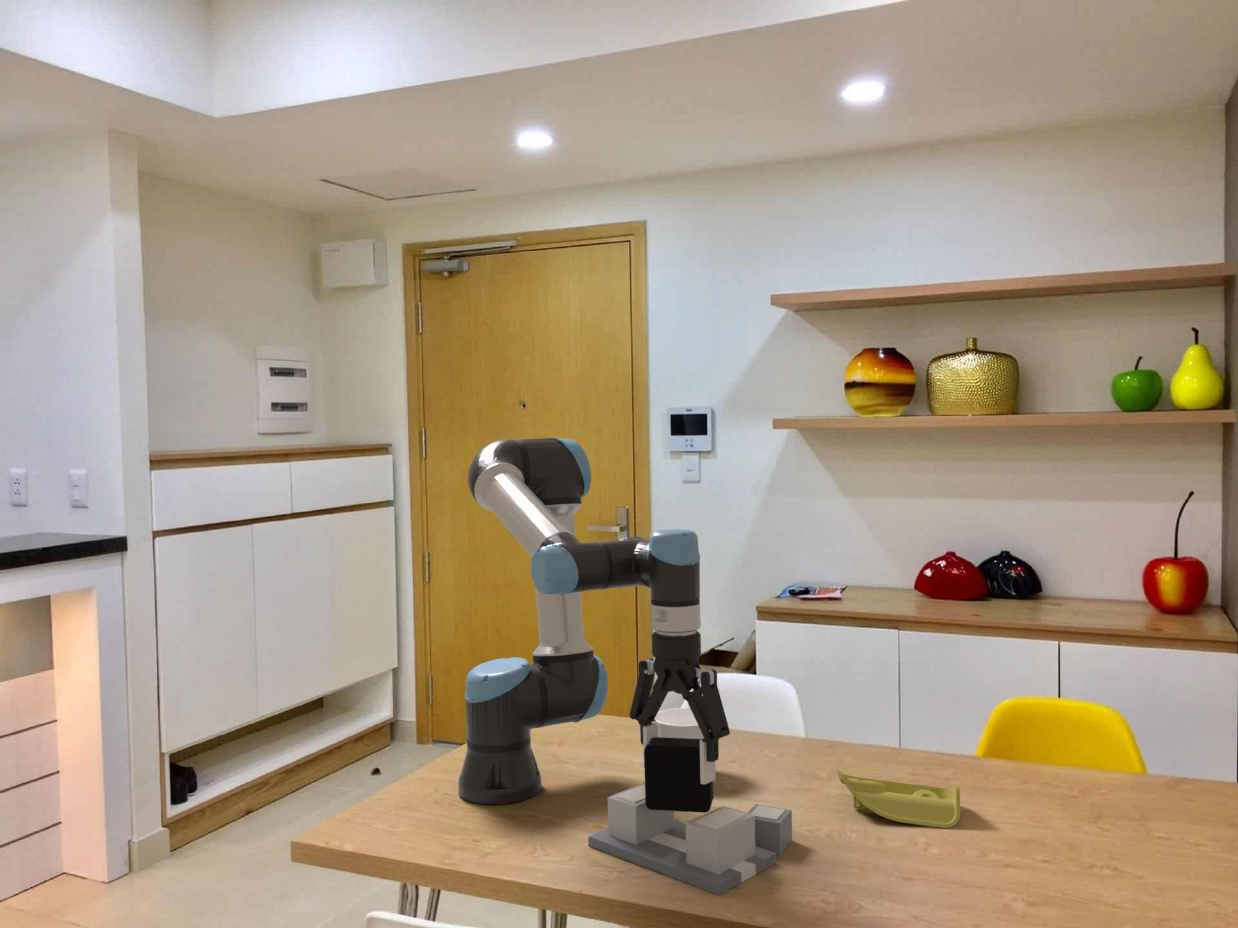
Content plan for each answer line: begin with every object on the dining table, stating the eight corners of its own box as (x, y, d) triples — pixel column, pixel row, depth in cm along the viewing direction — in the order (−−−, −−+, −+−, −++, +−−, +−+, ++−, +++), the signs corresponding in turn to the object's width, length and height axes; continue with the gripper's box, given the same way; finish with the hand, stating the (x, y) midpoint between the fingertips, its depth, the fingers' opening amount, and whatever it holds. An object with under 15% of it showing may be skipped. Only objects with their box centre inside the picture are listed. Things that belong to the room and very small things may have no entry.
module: (743, 848, 158) (742, 815, 158) (756, 834, 163) (755, 802, 163) (780, 855, 155) (779, 821, 155) (792, 840, 160) (791, 808, 160)
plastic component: (953, 789, 175) (960, 782, 166) (952, 834, 172) (960, 829, 163) (836, 775, 179) (837, 767, 170) (834, 818, 176) (835, 813, 167)
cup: (730, 769, 194) (729, 712, 194) (699, 789, 184) (698, 729, 183) (673, 759, 201) (672, 704, 200) (641, 777, 190) (640, 719, 190)
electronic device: (710, 813, 152) (709, 747, 152) (645, 809, 154) (643, 745, 154) (713, 802, 156) (712, 739, 156) (650, 799, 158) (648, 736, 158)
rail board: (588, 845, 160) (587, 797, 159) (647, 819, 170) (646, 774, 170) (719, 894, 142) (718, 840, 142) (776, 862, 152) (775, 812, 152)
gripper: (604, 626, 160) (607, 764, 160) (721, 644, 144) (724, 797, 144) (636, 619, 165) (639, 752, 166) (752, 635, 149) (755, 783, 150)
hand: (679, 773), depth 155 cm, fingers open, 11 cm apart
